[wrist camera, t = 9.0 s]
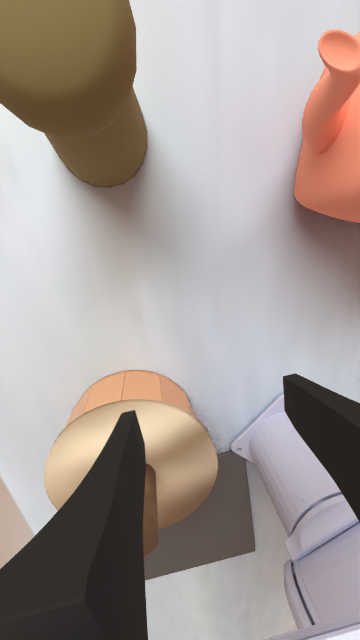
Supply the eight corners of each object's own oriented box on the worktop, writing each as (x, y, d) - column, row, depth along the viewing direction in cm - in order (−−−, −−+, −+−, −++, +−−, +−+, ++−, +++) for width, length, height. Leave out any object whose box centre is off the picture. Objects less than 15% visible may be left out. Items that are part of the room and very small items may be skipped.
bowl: (215, 408, 25) (229, 445, 21) (145, 480, 27) (145, 527, 23) (121, 347, 22) (116, 375, 18) (49, 434, 24) (29, 479, 20)
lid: (246, 457, 22) (275, 524, 17) (139, 544, 24) (137, 626, 19) (129, 365, 18) (123, 418, 13) (10, 480, 20) (-35, 564, 15)
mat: (242, 448, 27) (244, 451, 27) (254, 547, 33) (255, 550, 33) (91, 484, 26) (90, 488, 26) (130, 579, 32) (130, 584, 32)
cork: (119, 57, 16) (68, -268, 5) (163, 163, 18) (187, 76, 8) (30, 103, 16) (-182, -124, 6) (84, 202, 18) (3, 170, 8)
